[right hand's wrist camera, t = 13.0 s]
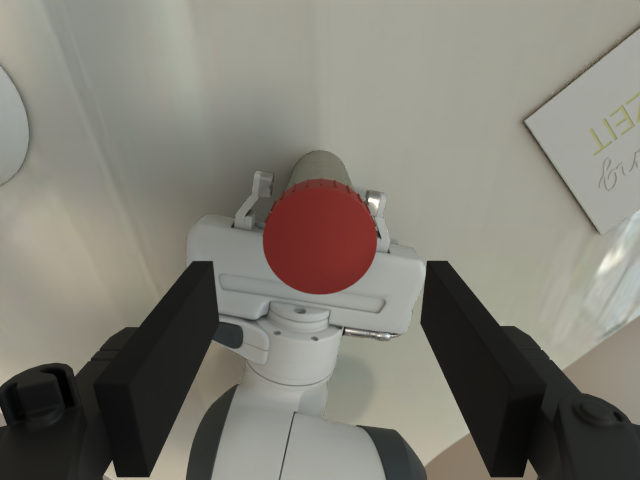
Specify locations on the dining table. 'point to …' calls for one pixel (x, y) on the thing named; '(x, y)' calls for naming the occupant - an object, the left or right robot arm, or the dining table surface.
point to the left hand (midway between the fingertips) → (321, 182)
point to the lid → (319, 237)
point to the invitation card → (598, 135)
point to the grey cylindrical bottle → (320, 169)
